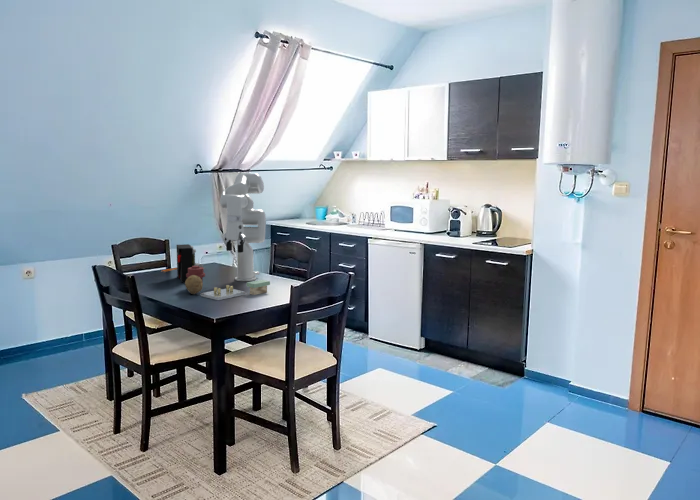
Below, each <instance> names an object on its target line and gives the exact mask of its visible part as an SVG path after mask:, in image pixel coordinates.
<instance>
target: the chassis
mask: <svg viewBox="0 0 700 500" xmlns="http://www.w3.org/2000/svg"><path fill="white" fill-rule="evenodd" d="M245 295H247V291H243V290H239V289H235V288H234V285H230V284H226V285H225V288H221V287H217V286H216V287H215V286H214V287H213V290H211V291H205V292H201V293H200V297H203V298H207V299H211V300H215V301H221V300H226V299H231V298H235V297H236V298H237V297H240V296H245Z"/></svg>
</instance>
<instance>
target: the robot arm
mask: <svg viewBox="0 0 700 500" xmlns="http://www.w3.org/2000/svg"><path fill="white" fill-rule="evenodd" d="M264 189H265V185H264V181H263V179H262V176H261V175H260V174H258V173H256V172H255V173H254V172H253V173H251V172H249V173H248V172H246V173H245V172H243V173H242V172H241V173H238V174H237V175H236V176H235V179H234V182H233V185H230V186H228V187H226V188H224V190H222V193H221V196H220V200H219V204H220V206H221V208H223V209H226V227H225V230H226V231H225V233H224V234H223V237H224V241H225V245H226V251H227V252H229V251H230V252H231V251H232V250H233V243H232V242H236V264H237V265H236V269H237V270H236V271H237V272H236V274H237V276H235V277H234V280H235V281H238V282H253V281H257V277H256V276H257V275H260V271H254V249H253V247H252V246H251V244H262V243H264V242H265V239H266V227H267V225H266V222H267V221H266V219H267V218H266V213H265V211H264V210H263V209H255V208H254V200H253V198H252V197H251V196H250V194H251V195H252V194H253V195H255V194H256V195H258V194H259V195H261V194H262V193H263V192H264Z"/></svg>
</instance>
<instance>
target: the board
mask: <svg viewBox="0 0 700 500" xmlns="http://www.w3.org/2000/svg"><path fill="white" fill-rule="evenodd" d="M270 285H271V281H270V280H265V279H259V280H253V281H247V282H246V287H248V288H250V287H252V288H257V287H262V286H267V287H268V286H270Z"/></svg>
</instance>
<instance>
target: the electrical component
mask: <svg viewBox="0 0 700 500" xmlns="http://www.w3.org/2000/svg"><path fill="white" fill-rule="evenodd" d="M196 252H197V250H196V249H195V248H194V246H193V245H192V244H189V243H188V244H176V270H177V271H176V274H177V275H176V276H177V277H178V278H177V280H180V282H181V284H185V281H186V279H187V277H186V274H187V273H188V268H190V267H192V266H195V263H196V254H195V253H196Z"/></svg>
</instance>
